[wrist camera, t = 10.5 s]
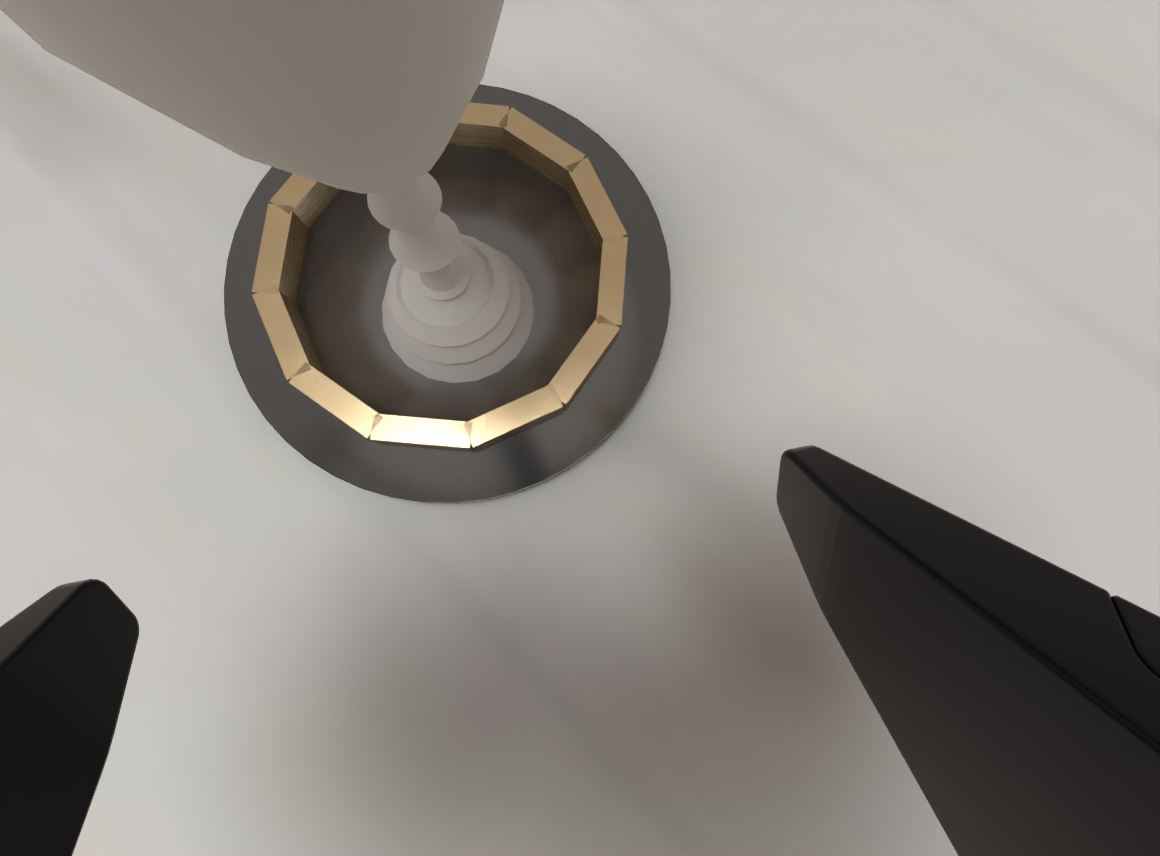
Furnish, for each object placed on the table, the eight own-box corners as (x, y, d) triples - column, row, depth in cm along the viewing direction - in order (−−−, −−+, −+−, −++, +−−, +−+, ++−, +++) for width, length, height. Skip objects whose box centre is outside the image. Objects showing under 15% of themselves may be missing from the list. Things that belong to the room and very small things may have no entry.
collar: (501, 594, 19) (495, 603, 17) (145, 337, 20) (98, 317, 18) (745, 243, 21) (764, 214, 19) (414, 28, 22) (399, -20, 20)
